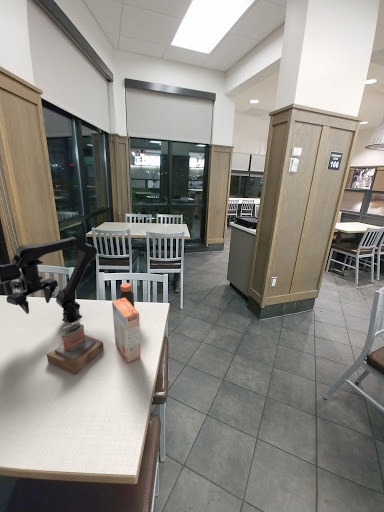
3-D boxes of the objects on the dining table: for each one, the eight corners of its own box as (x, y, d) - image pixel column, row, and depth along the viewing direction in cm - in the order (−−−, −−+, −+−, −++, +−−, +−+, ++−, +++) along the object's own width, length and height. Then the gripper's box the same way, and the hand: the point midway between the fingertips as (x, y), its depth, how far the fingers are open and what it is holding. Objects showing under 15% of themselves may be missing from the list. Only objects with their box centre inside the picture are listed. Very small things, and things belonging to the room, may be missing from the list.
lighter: (83, 338, 91) (80, 317, 87) (87, 342, 89) (84, 320, 86) (62, 349, 85) (58, 327, 81) (66, 353, 83) (62, 331, 79)
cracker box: (141, 357, 89) (139, 312, 82) (127, 363, 86) (124, 317, 79) (128, 337, 100) (125, 296, 93) (114, 342, 96) (111, 300, 89)
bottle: (136, 317, 114) (134, 282, 108) (133, 325, 108) (131, 288, 101) (123, 316, 114) (120, 281, 107) (119, 325, 108) (116, 288, 101)
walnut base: (78, 339, 97) (77, 330, 95) (103, 349, 92) (102, 339, 91) (48, 362, 85) (45, 351, 83) (75, 375, 80) (73, 364, 78)
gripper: (38, 264, 103) (44, 294, 108) (-8, 280, 86) (2, 315, 91) (56, 268, 100) (61, 299, 105) (12, 286, 83) (21, 321, 88)
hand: (38, 307), depth 97 cm, fingers open, 9 cm apart
